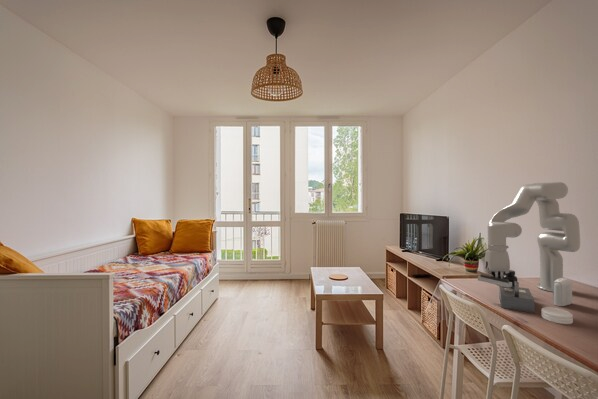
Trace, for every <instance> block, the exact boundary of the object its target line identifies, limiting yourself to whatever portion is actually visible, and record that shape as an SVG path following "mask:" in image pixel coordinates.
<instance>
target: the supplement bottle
mask: <svg viewBox="0 0 598 399" xmlns="http://www.w3.org/2000/svg"><path fill="white" fill-rule="evenodd" d="M502 279H507V280H509V282H512V287H514V282H519V281H518V277H517V276H516V271H515V270H512V269H510V270H509V273H507V274H504V275H503V277H502Z"/></svg>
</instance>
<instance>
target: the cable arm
mask: <svg viewBox="0 0 598 399" xmlns="http://www.w3.org/2000/svg"><path fill="white" fill-rule="evenodd" d="M477 281H479V282H484V283H487V284H491V285H495V284H496V286H497V285H500V286H504V287H512V282H509V280H507V279H502V278H498V277H494V276H492V275H489V274H481V273H480V275H478V276H477Z"/></svg>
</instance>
